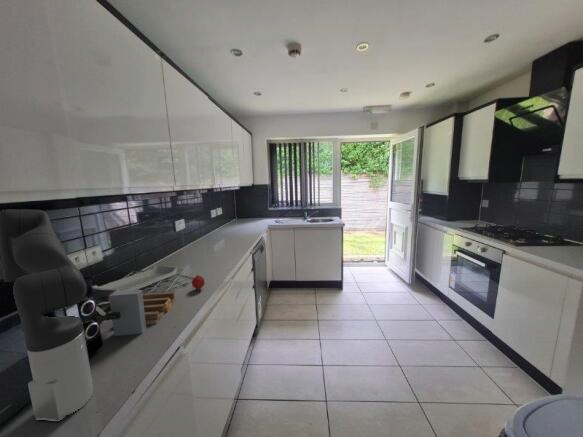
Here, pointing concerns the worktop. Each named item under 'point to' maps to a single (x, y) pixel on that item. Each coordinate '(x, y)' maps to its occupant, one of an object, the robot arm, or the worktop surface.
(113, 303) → the panel
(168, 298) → the rack
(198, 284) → the onion
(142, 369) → the worktop surface
